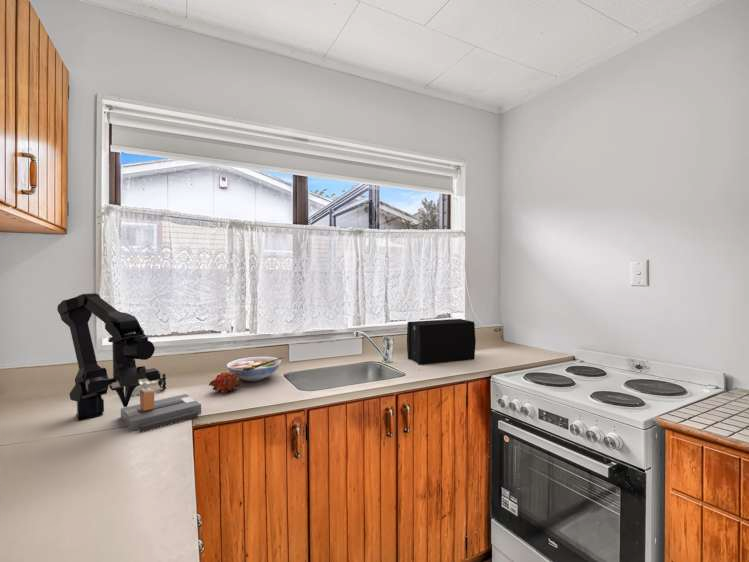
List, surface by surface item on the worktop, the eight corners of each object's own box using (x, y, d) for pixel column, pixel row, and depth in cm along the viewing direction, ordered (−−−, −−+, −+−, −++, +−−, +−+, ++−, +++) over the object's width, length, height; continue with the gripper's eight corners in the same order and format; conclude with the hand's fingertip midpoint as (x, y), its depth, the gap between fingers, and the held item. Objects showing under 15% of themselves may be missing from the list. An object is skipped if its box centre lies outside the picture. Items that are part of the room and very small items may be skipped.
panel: (131, 431, 111) (130, 420, 110) (120, 417, 121) (120, 407, 121) (201, 413, 124) (201, 403, 124) (186, 402, 135) (186, 393, 135)
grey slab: (141, 432, 110) (141, 426, 110) (126, 413, 124) (126, 409, 124) (197, 417, 121) (197, 412, 121) (178, 401, 136) (178, 397, 136)
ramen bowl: (255, 369, 180) (254, 352, 179) (293, 374, 170) (293, 357, 170) (212, 383, 157) (212, 364, 157) (254, 391, 147) (253, 370, 147)
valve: (129, 397, 141) (166, 392, 147) (129, 380, 140) (165, 375, 147) (130, 393, 146) (165, 387, 153) (129, 376, 146) (164, 371, 152)
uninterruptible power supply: (406, 358, 200) (406, 321, 199) (461, 353, 211) (461, 318, 210) (420, 365, 184) (420, 325, 184) (478, 359, 196) (478, 322, 195)
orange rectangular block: (143, 410, 117) (143, 392, 117) (140, 407, 120) (139, 389, 120) (154, 408, 119) (154, 390, 119) (150, 404, 123) (150, 387, 122)
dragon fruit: (244, 394, 148) (211, 402, 145) (242, 377, 154) (211, 384, 151) (240, 381, 143) (207, 388, 139) (239, 364, 149) (207, 371, 146)
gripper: (90, 367, 103) (91, 422, 103) (164, 356, 116) (166, 405, 116) (84, 360, 111) (86, 412, 111) (155, 350, 124) (156, 397, 124)
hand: (125, 406), depth 116 cm, fingers closed
